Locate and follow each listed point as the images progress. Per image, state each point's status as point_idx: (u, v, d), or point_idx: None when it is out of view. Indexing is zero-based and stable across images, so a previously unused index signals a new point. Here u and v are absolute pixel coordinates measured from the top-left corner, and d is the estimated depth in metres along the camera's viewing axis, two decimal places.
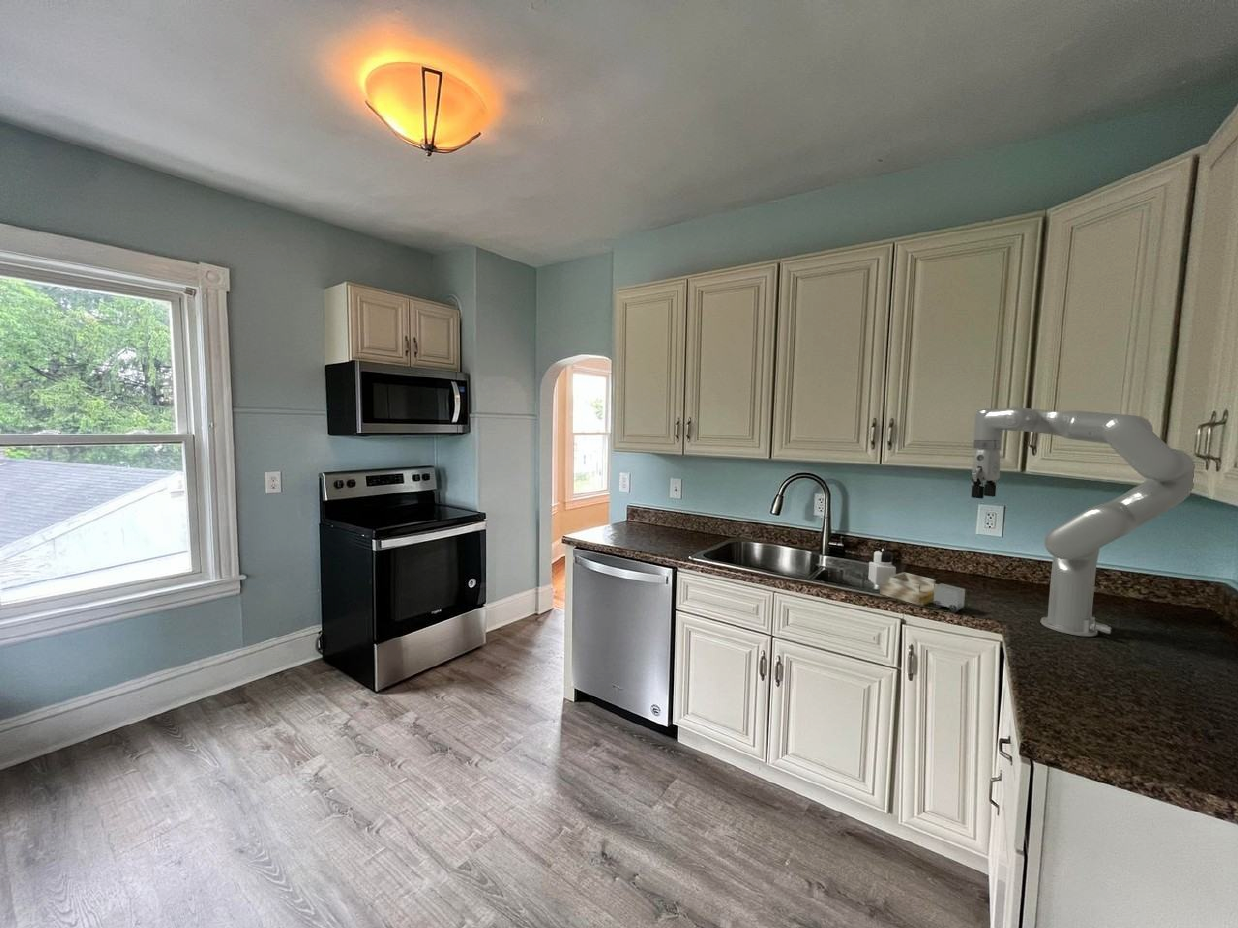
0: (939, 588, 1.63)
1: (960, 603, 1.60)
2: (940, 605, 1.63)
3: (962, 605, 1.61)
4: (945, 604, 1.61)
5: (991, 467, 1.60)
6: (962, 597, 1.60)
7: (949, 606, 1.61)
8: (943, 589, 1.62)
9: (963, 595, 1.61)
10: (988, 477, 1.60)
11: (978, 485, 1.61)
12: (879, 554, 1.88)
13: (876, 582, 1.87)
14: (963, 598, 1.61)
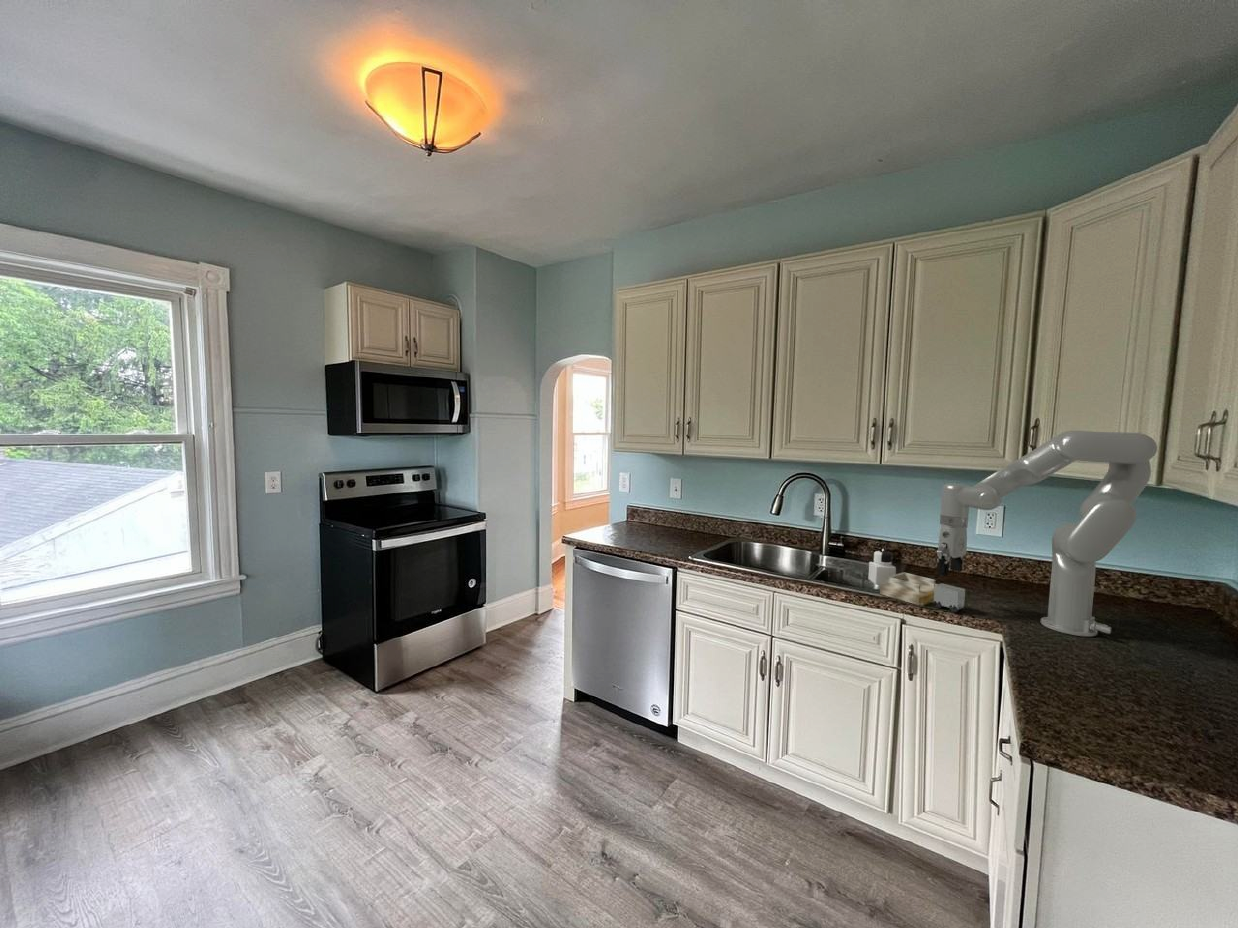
0: (939, 588, 1.63)
1: (960, 603, 1.60)
2: (940, 605, 1.63)
3: (962, 605, 1.61)
4: (945, 604, 1.61)
5: (956, 544, 1.57)
6: (962, 597, 1.60)
7: (949, 606, 1.61)
8: (943, 589, 1.62)
9: (963, 595, 1.61)
10: (953, 555, 1.57)
11: (943, 562, 1.58)
12: (879, 554, 1.88)
13: (876, 582, 1.87)
14: (963, 598, 1.61)
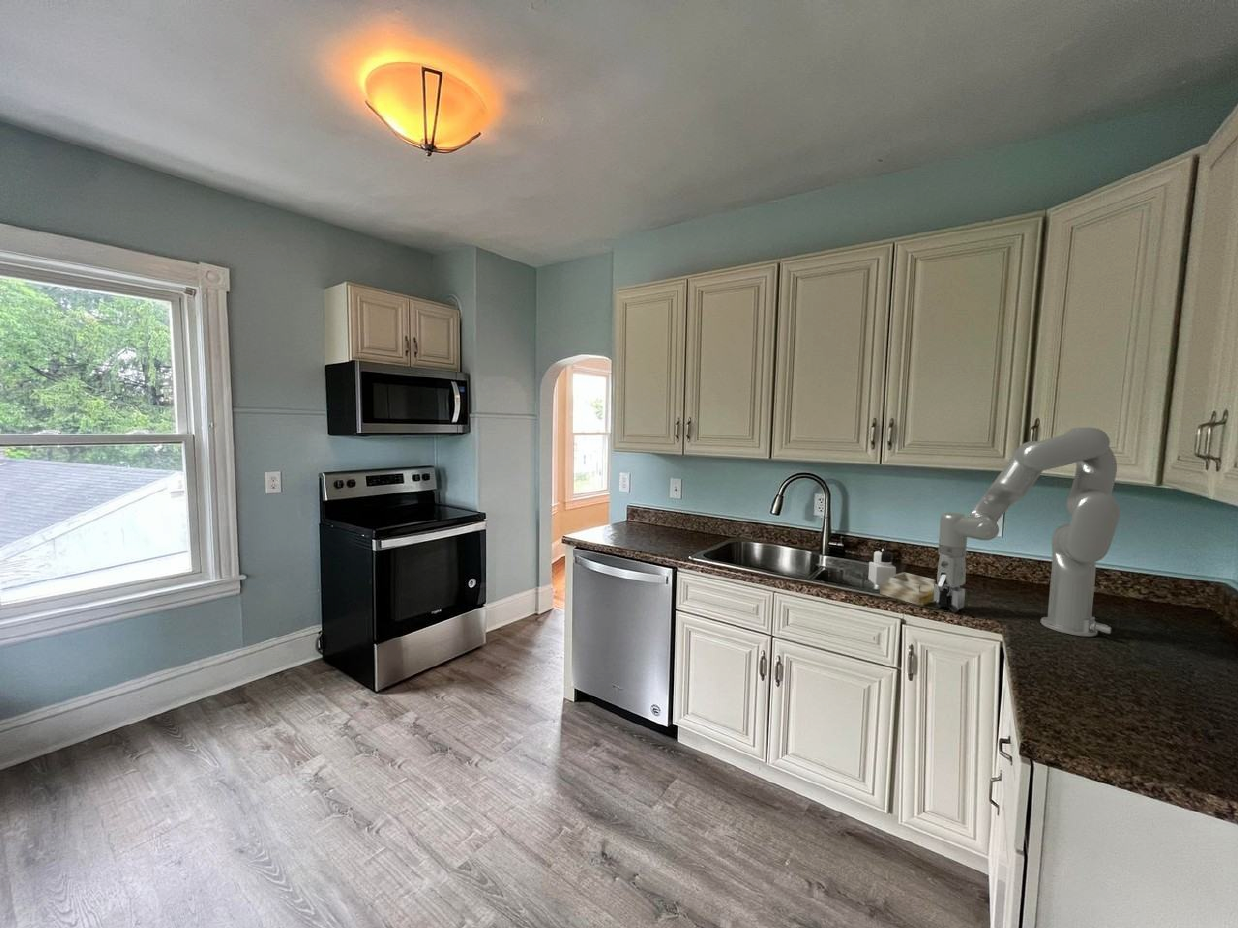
0: None
1: (960, 603, 1.60)
2: None
3: (962, 605, 1.61)
4: None
5: (955, 574, 1.58)
6: (962, 597, 1.60)
7: None
8: None
9: (963, 595, 1.61)
10: (952, 585, 1.58)
11: (945, 595, 1.60)
12: (879, 554, 1.88)
13: (876, 582, 1.87)
14: (963, 598, 1.61)
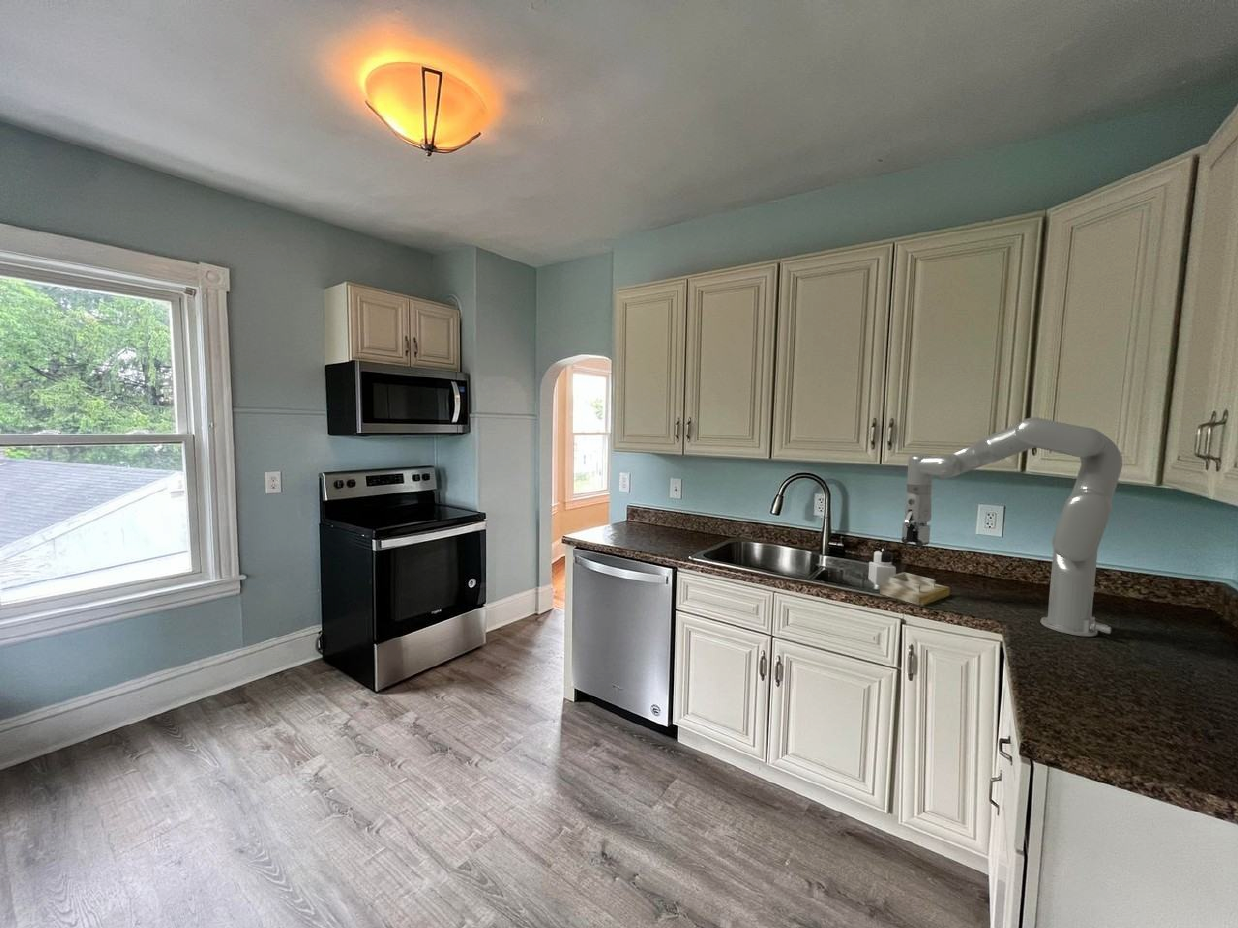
0: None
1: (925, 537, 1.72)
2: None
3: (927, 540, 1.73)
4: None
5: (921, 510, 1.71)
6: (927, 532, 1.73)
7: None
8: None
9: (928, 531, 1.73)
10: (918, 520, 1.70)
11: (912, 530, 1.73)
12: (879, 554, 1.88)
13: (876, 582, 1.87)
14: (929, 533, 1.74)
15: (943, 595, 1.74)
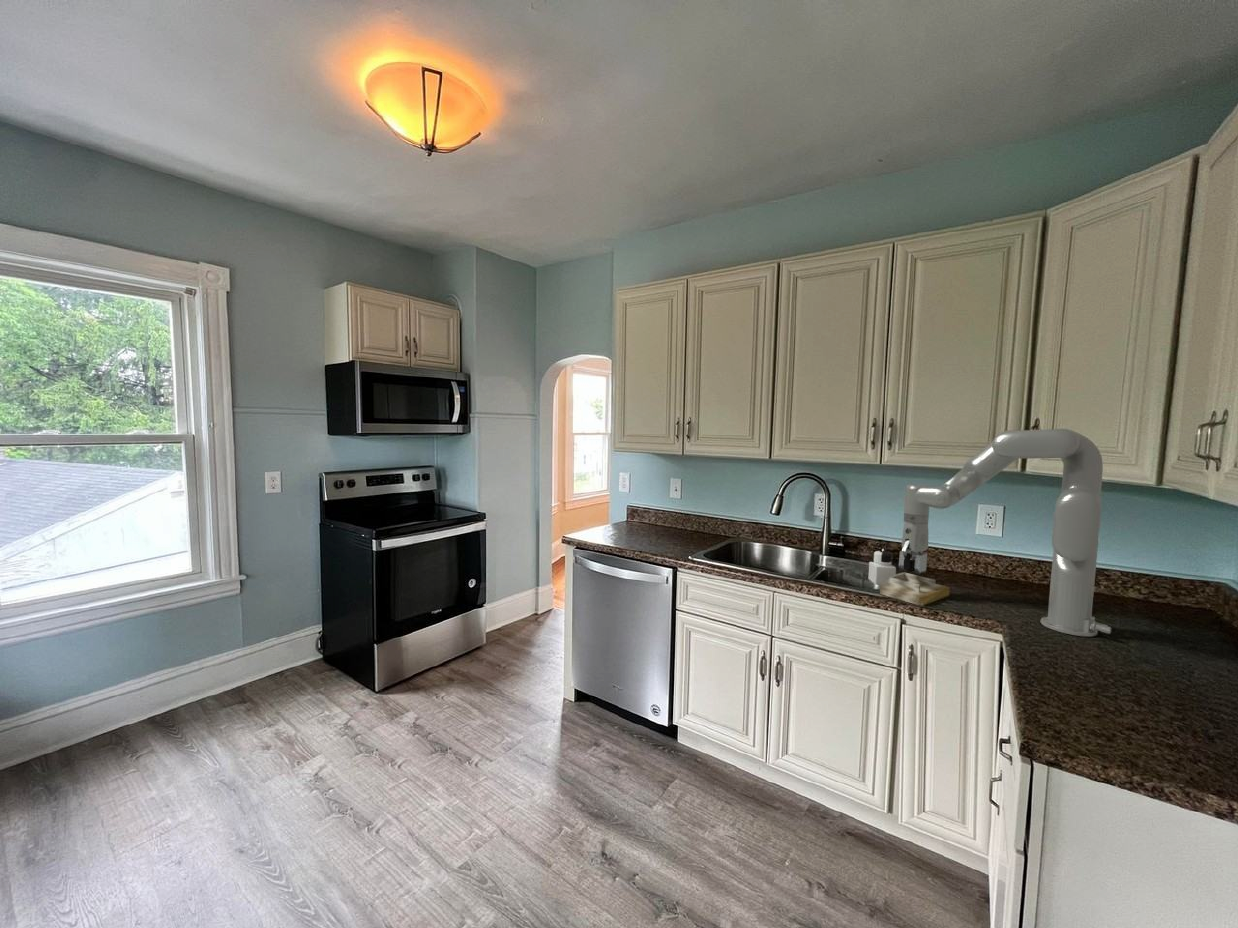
0: None
1: (922, 566, 1.74)
2: None
3: (924, 569, 1.75)
4: None
5: (917, 540, 1.72)
6: (924, 561, 1.74)
7: None
8: None
9: (925, 560, 1.74)
10: (915, 550, 1.72)
11: (909, 559, 1.74)
12: (879, 554, 1.88)
13: (876, 582, 1.87)
14: (926, 562, 1.75)
15: (943, 595, 1.74)
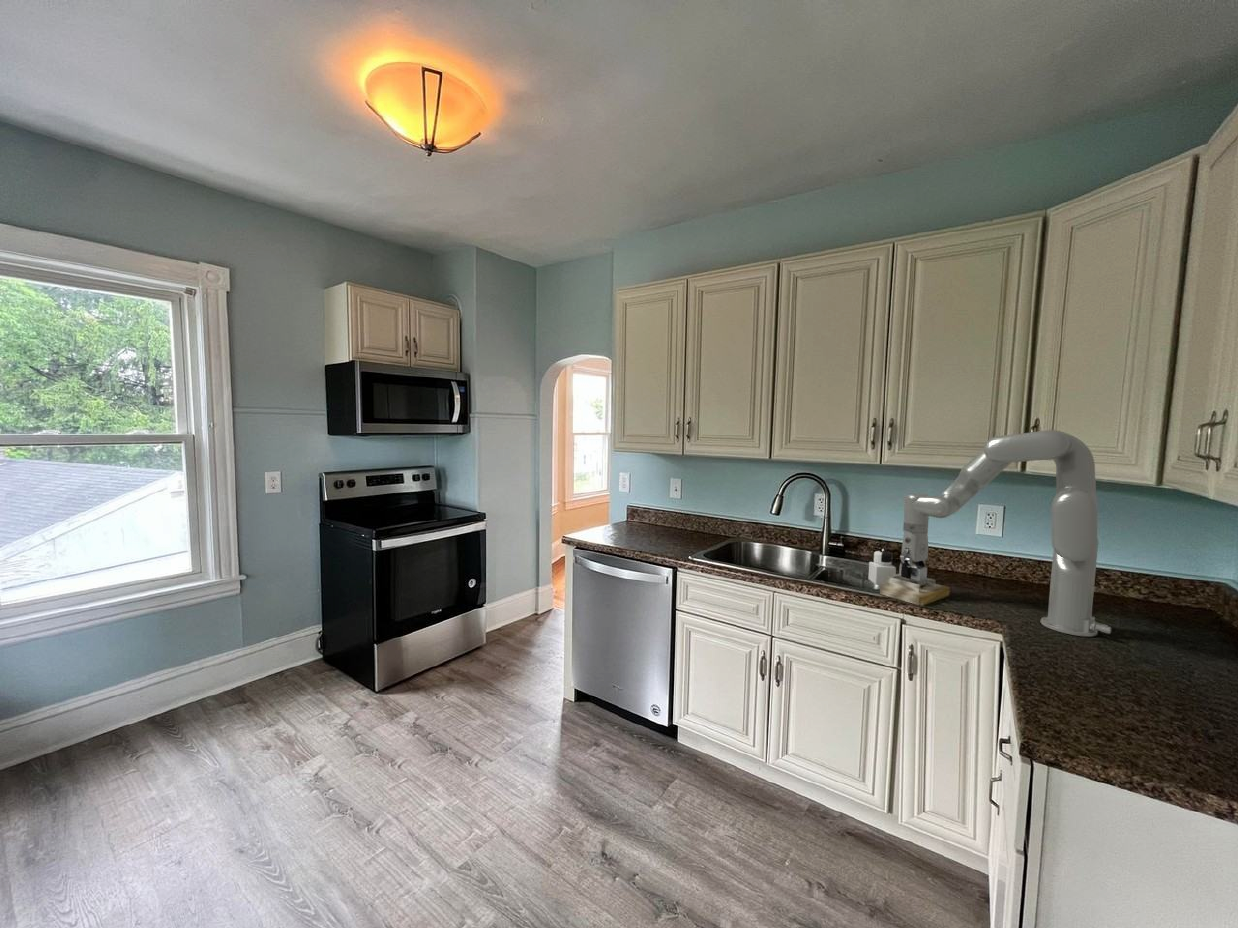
0: None
1: (922, 580, 1.74)
2: None
3: (924, 582, 1.75)
4: (909, 581, 1.76)
5: (917, 549, 1.72)
6: (924, 575, 1.74)
7: None
8: None
9: (925, 573, 1.75)
10: (915, 559, 1.72)
11: (906, 566, 1.73)
12: (879, 554, 1.88)
13: (876, 582, 1.87)
14: (926, 575, 1.75)
15: (943, 595, 1.74)
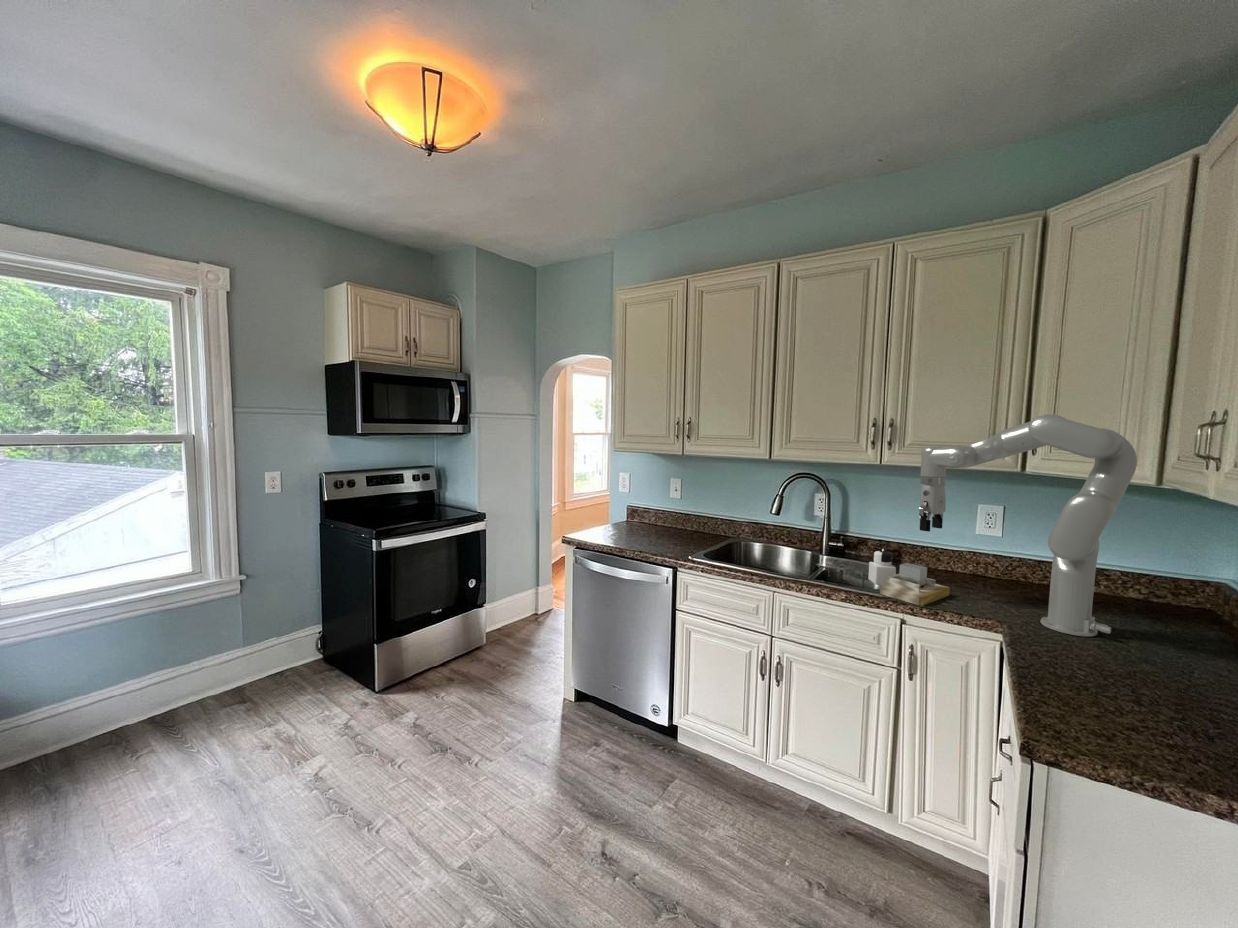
0: (903, 567, 1.77)
1: (922, 580, 1.74)
2: None
3: (924, 582, 1.75)
4: (909, 581, 1.76)
5: (936, 502, 1.71)
6: (924, 575, 1.74)
7: None
8: (907, 567, 1.76)
9: (925, 573, 1.75)
10: (934, 511, 1.71)
11: (925, 519, 1.72)
12: (879, 554, 1.88)
13: (876, 582, 1.87)
14: (926, 575, 1.75)
15: (943, 595, 1.74)
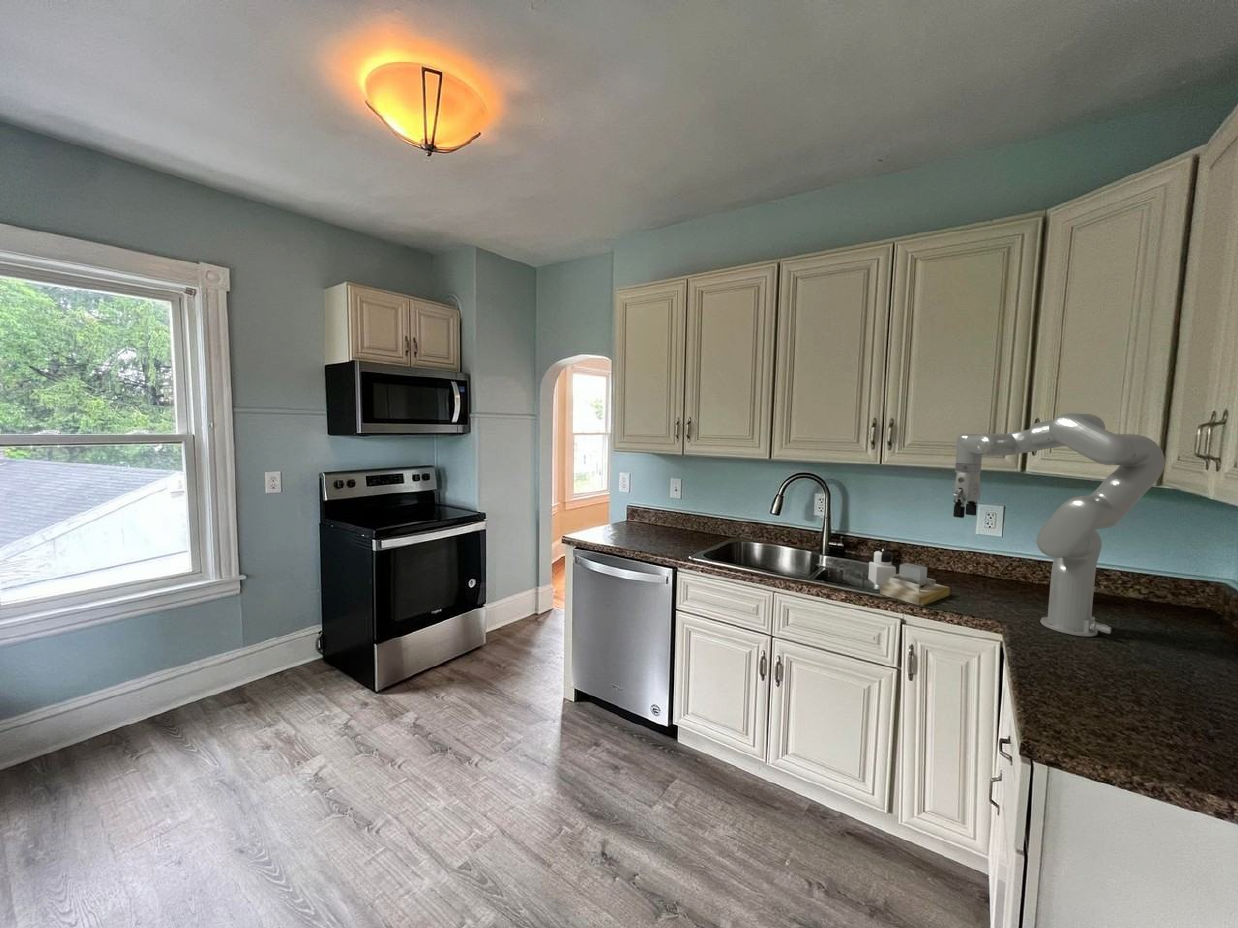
0: (903, 567, 1.77)
1: (922, 580, 1.74)
2: None
3: (924, 582, 1.75)
4: (909, 581, 1.76)
5: (971, 488, 1.72)
6: (924, 575, 1.74)
7: None
8: (907, 567, 1.76)
9: (925, 573, 1.75)
10: (968, 498, 1.72)
11: (959, 505, 1.73)
12: (879, 554, 1.88)
13: (876, 582, 1.87)
14: (926, 575, 1.75)
15: (943, 595, 1.74)
